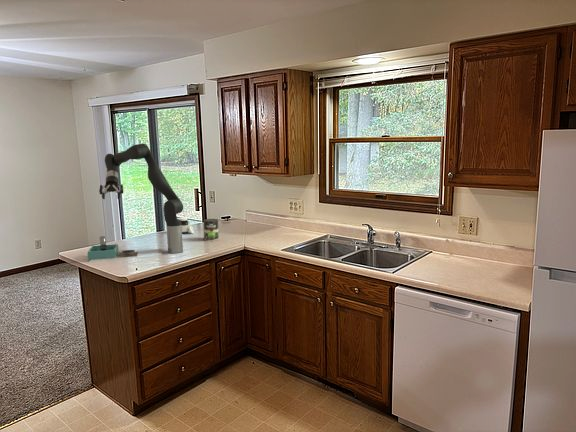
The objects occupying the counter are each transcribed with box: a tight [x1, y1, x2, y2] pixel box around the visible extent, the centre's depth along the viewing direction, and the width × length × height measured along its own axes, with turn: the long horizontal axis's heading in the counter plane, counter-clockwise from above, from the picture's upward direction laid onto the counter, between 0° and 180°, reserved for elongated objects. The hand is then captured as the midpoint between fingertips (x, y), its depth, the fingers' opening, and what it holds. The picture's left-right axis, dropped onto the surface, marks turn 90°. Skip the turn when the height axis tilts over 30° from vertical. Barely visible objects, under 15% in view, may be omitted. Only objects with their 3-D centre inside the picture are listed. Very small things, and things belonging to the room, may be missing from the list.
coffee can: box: [203, 218, 220, 242], centre depth 304 cm, size 10×10×14 cm
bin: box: [87, 243, 120, 262], centre depth 260 cm, size 15×15×6 cm
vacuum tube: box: [99, 235, 107, 251], centre depth 259 cm, size 5×5×12 cm
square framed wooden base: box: [116, 249, 139, 259], centre depth 261 cm, size 11×11×3 cm
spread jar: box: [177, 216, 195, 235], centre depth 326 cm, size 12×11×12 cm
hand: (111, 198), depth 273 cm, fingers open, 8 cm apart
